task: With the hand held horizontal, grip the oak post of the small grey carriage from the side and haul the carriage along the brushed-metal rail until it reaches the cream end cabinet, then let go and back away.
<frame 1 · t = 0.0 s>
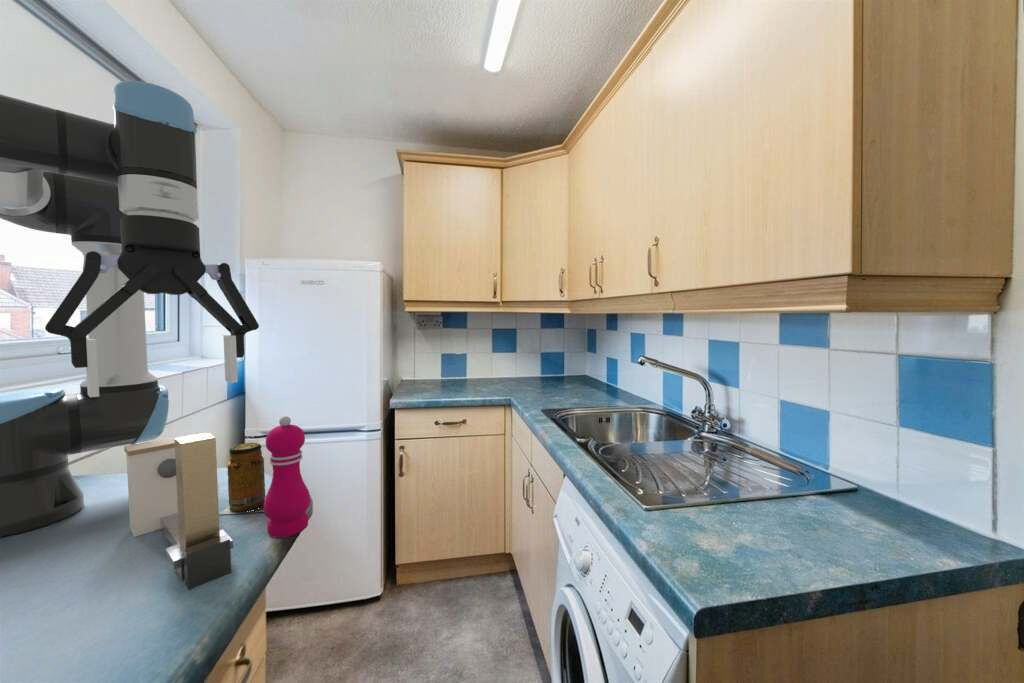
hand: (169, 388, 52), 28 cm above the countertop, tool pointing down, fingers open, 13 cm apart
rail: (187, 547, 66), on the countertop
end cabinet: (169, 521, 74), on the countertop
condiment: (252, 506, 81), on the countertop
pepper mill: (288, 529, 72), on the countertop
carriage: (197, 502, 60), point 10 cm above the countertop, slide at 11.0 cm
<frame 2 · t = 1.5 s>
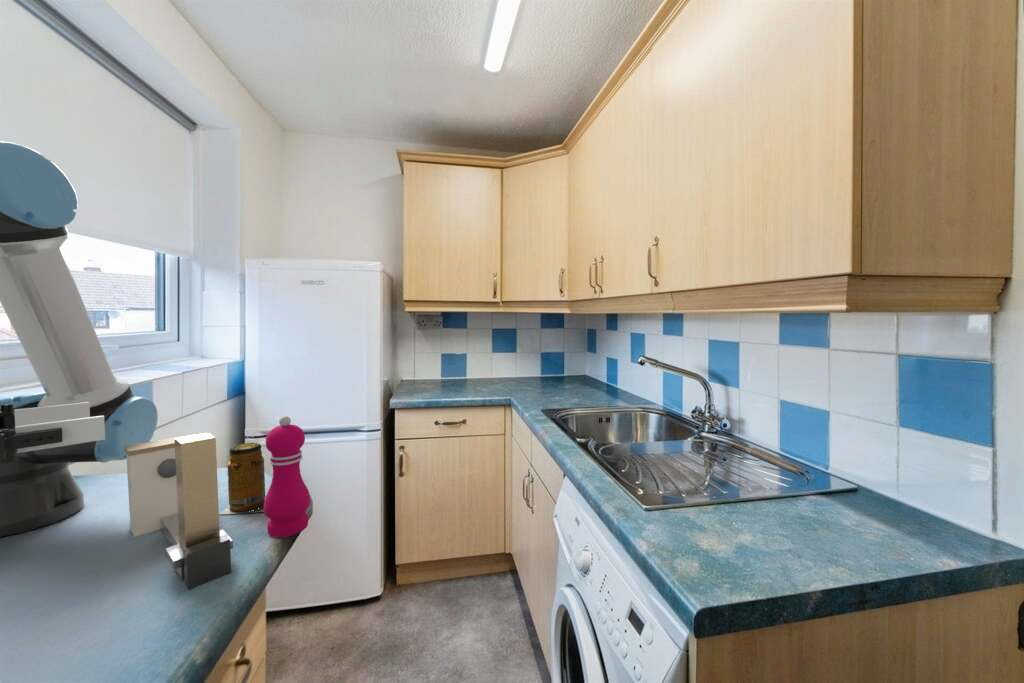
hand: (96, 418, 52), 24 cm above the countertop, tool horizontal, fingers open, 13 cm apart
nothing on the countertop moved.
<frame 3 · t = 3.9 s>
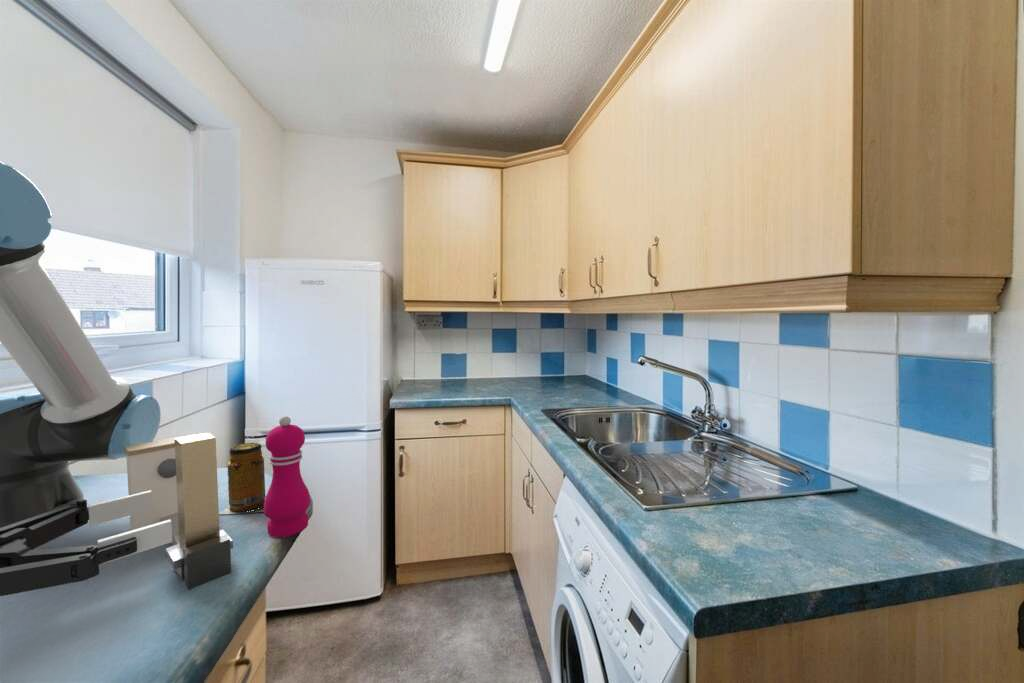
hand: (161, 513, 56), 10 cm above the countertop, tool horizontal, fingers open, 13 cm apart
nothing on the countertop moved.
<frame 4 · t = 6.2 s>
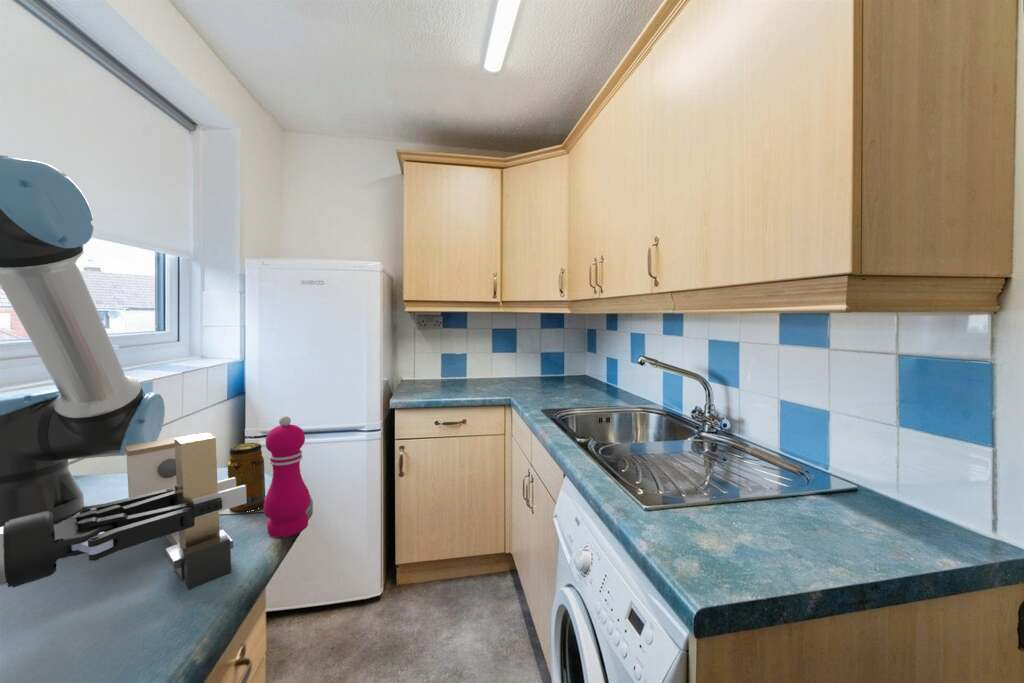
hand: (240, 489, 64), 10 cm above the countertop, tool horizontal, fingers closed on carriage, 4 cm apart
carriage: (197, 502, 60), point 10 cm above the countertop, slide at 11.0 cm, touching gripper
everything else where it was.
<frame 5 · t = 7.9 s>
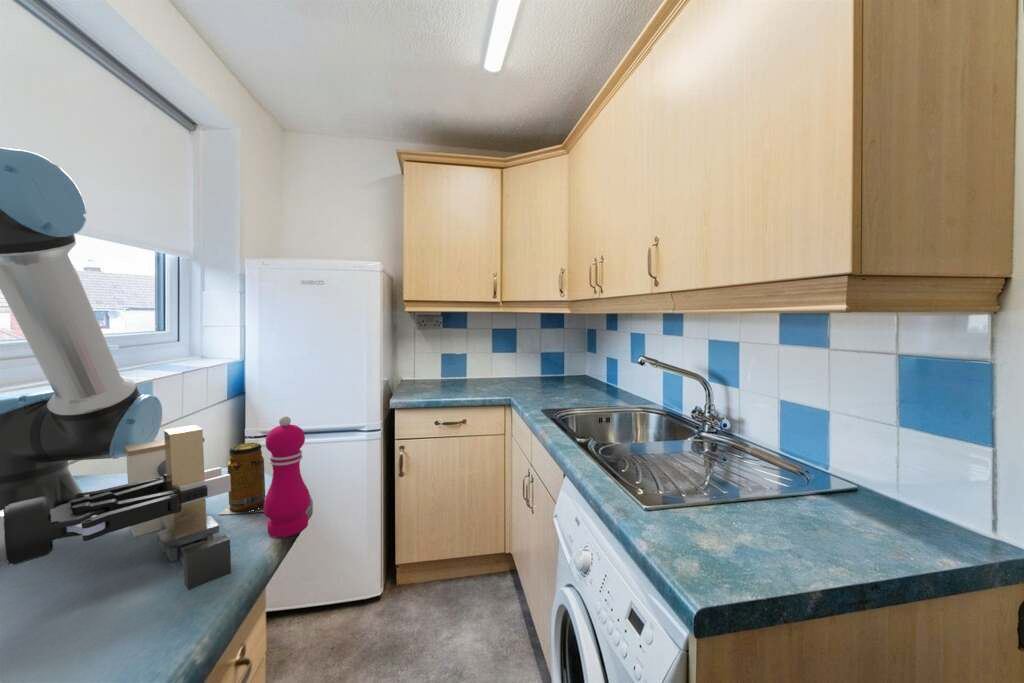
hand: (224, 478, 69), 10 cm above the countertop, tool horizontal, fingers closed on carriage, 4 cm apart
carriage: (186, 489, 65), point 10 cm above the countertop, slide at 4.0 cm, touching gripper
everything else where it was.
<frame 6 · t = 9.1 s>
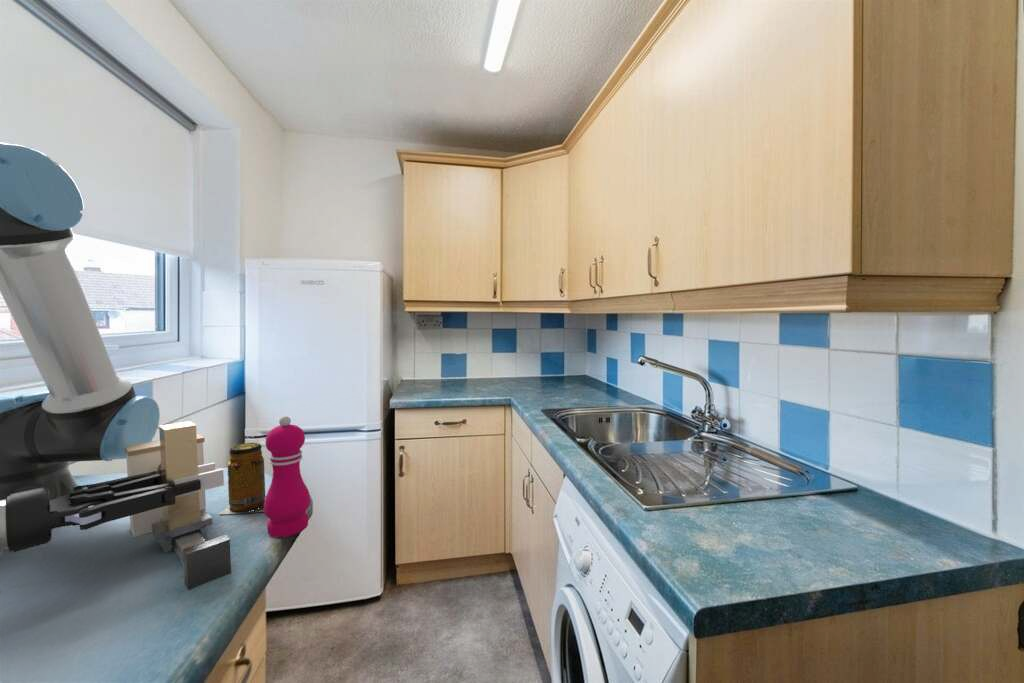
hand: (218, 473, 71), 10 cm above the countertop, tool horizontal, fingers closed on carriage, 4 cm apart
carriage: (180, 483, 67), point 10 cm above the countertop, slide at 0.1 cm, touching gripper
everything else where it was.
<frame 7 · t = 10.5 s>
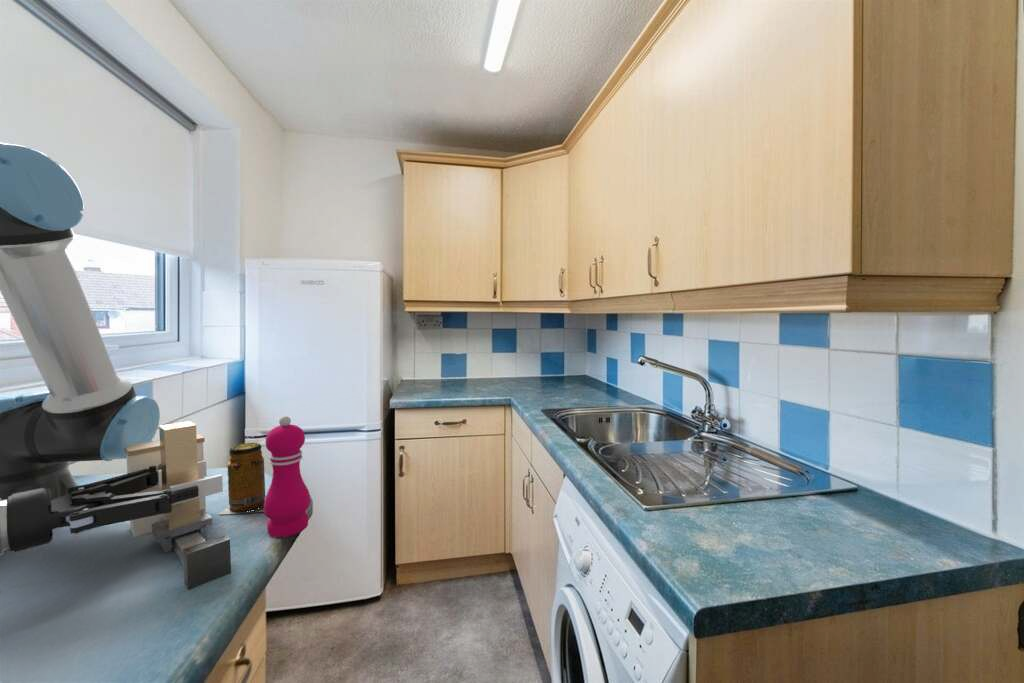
hand: (213, 475, 70), 10 cm above the countertop, tool horizontal, fingers open, 9 cm apart
carriage: (180, 482, 67), point 10 cm above the countertop, slide at 0.1 cm
everything else where it was.
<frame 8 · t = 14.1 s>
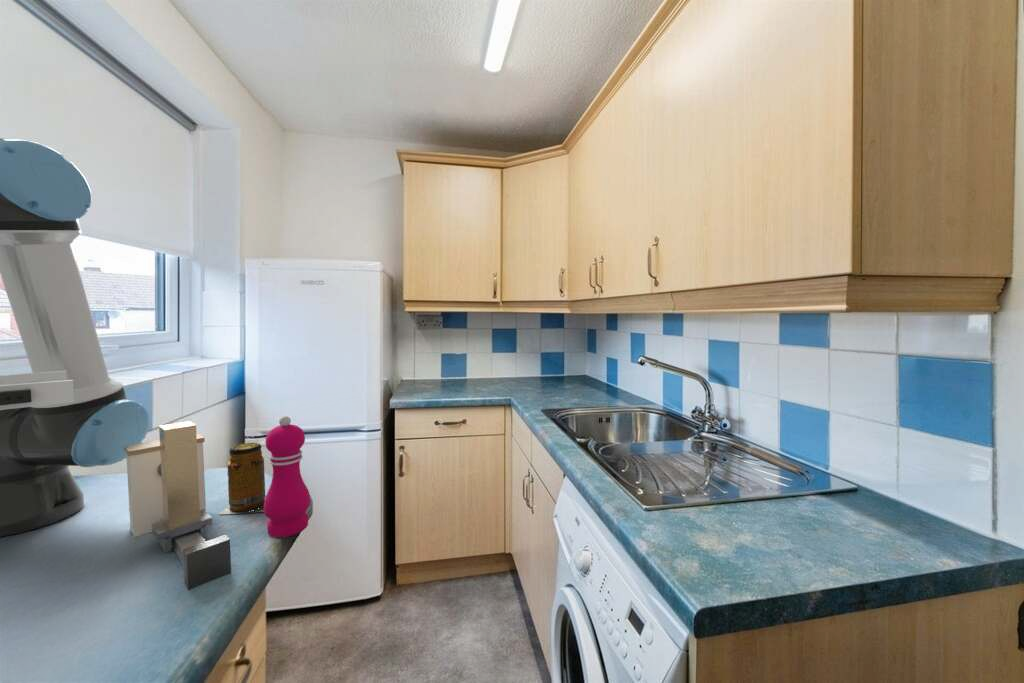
hand: (70, 385, 55), 28 cm above the countertop, tool horizontal, fingers open, 13 cm apart
nothing on the countertop moved.
at the end: carriage slide at 0.1 cm; the gripper is holding nothing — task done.
